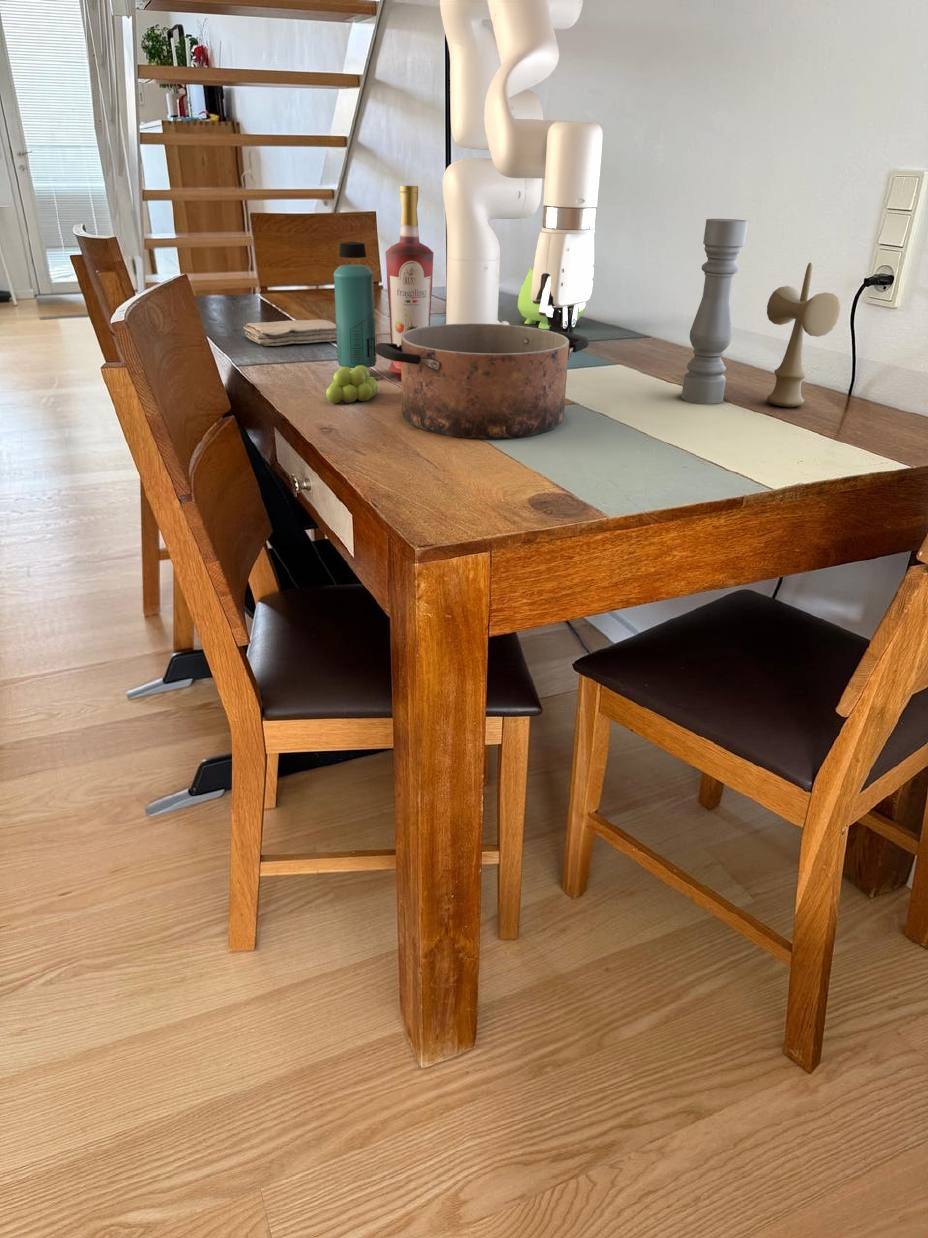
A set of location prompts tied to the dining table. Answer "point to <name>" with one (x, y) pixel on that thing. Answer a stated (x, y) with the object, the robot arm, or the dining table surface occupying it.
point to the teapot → (533, 305)
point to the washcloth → (291, 332)
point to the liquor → (408, 275)
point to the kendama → (799, 333)
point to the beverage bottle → (354, 310)
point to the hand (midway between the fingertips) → (559, 353)
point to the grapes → (352, 385)
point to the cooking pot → (483, 378)
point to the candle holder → (714, 312)
